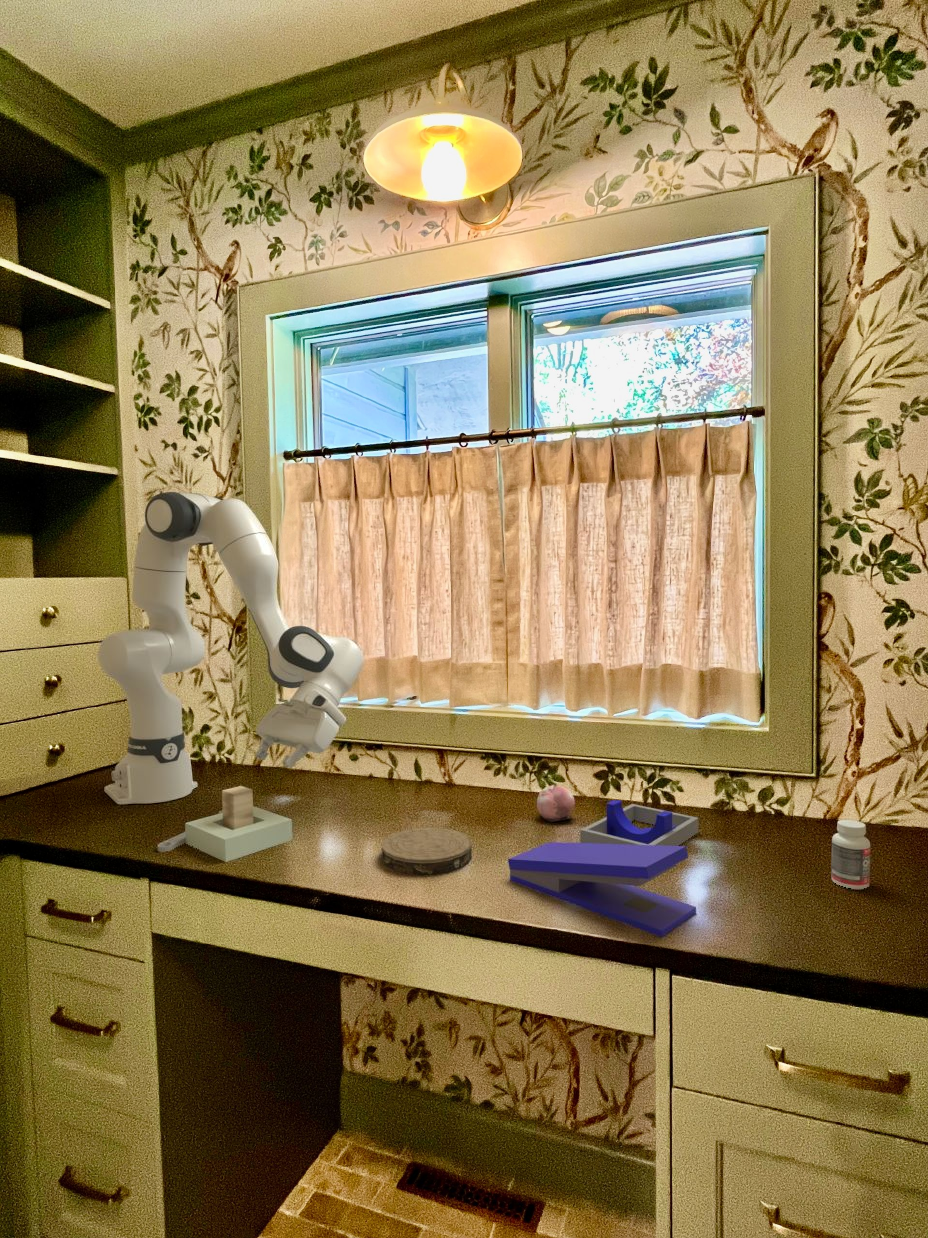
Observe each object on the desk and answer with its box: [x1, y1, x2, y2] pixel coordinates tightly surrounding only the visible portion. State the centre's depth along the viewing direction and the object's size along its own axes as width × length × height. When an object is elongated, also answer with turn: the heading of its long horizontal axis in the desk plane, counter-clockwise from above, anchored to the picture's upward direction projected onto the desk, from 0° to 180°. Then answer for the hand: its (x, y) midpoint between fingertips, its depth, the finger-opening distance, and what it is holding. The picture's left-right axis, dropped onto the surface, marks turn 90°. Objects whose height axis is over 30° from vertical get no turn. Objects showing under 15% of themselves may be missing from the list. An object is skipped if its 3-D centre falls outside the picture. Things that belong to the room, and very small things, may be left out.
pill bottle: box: [831, 819, 871, 890], centre depth 115 cm, size 5×5×10 cm
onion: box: [536, 784, 576, 823], centre depth 148 cm, size 8×8×7 cm
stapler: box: [507, 841, 697, 938], centre depth 111 cm, size 12×28×10 cm, turn 45°
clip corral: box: [579, 803, 699, 846], centre depth 135 cm, size 14×20×3 cm
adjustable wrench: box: [157, 809, 223, 853], centre depth 144 cm, size 25×6×2 cm, turn 155°
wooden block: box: [221, 785, 254, 830], centre depth 136 cm, size 4×4×10 cm
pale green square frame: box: [184, 805, 293, 863], centre depth 136 cm, size 14×14×4 cm
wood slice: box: [381, 827, 473, 877], centre depth 128 cm, size 16×16×3 cm
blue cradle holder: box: [606, 799, 676, 844], centre depth 135 cm, size 12×4×6 cm, turn 47°
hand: (272, 762), depth 142 cm, fingers open, 8 cm apart
